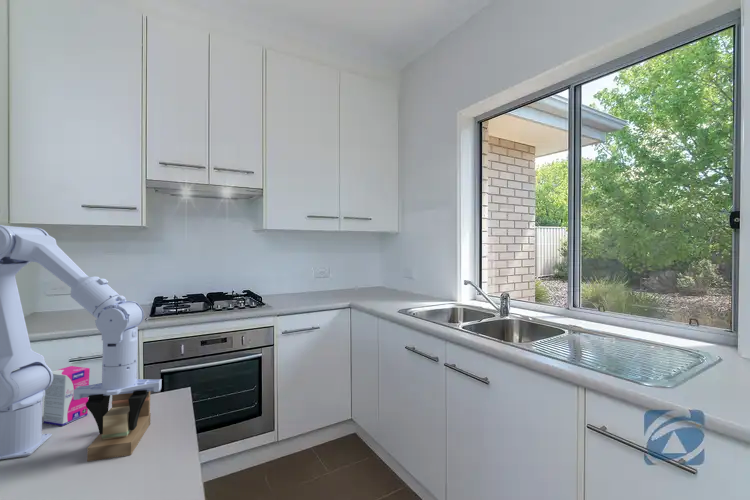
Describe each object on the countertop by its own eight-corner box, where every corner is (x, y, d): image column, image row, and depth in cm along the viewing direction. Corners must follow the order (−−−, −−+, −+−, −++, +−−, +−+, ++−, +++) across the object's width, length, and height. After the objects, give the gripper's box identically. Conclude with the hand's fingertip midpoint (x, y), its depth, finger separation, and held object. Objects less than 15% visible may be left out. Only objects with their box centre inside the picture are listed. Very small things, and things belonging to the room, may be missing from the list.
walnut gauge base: (87, 461, 66) (88, 413, 66) (114, 428, 78) (115, 387, 78) (130, 455, 68) (131, 408, 68) (150, 423, 80) (151, 384, 80)
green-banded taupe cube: (101, 440, 68) (102, 416, 68) (110, 429, 72) (110, 407, 72) (127, 436, 70) (127, 414, 70) (134, 426, 74) (134, 405, 74)
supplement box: (63, 426, 78) (64, 375, 78) (42, 423, 79) (43, 373, 80) (89, 415, 84) (90, 367, 84) (69, 412, 85) (70, 365, 85)
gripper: (66, 372, 65) (64, 445, 65) (155, 365, 70) (154, 434, 70) (83, 361, 72) (82, 427, 72) (164, 355, 76) (163, 418, 76)
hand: (118, 429), depth 71 cm, fingers open, 4 cm apart
